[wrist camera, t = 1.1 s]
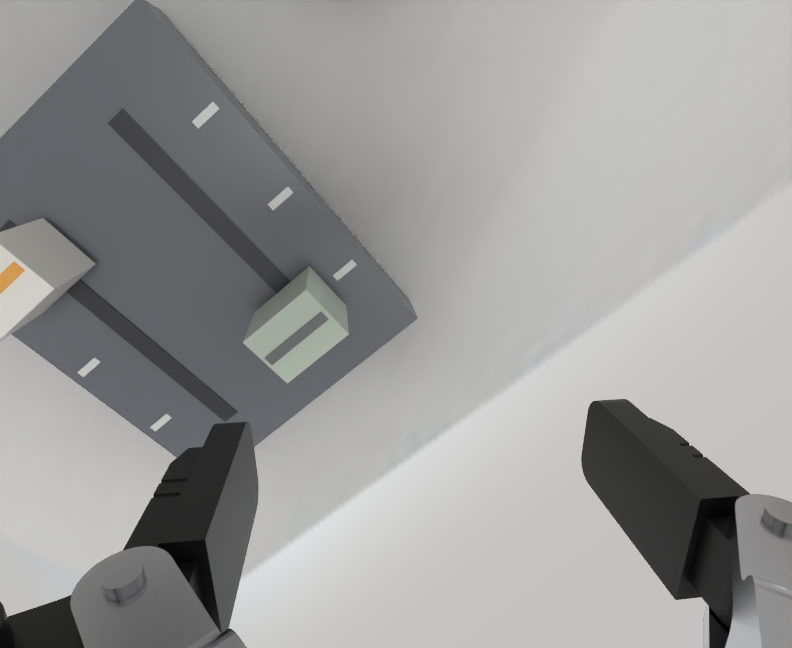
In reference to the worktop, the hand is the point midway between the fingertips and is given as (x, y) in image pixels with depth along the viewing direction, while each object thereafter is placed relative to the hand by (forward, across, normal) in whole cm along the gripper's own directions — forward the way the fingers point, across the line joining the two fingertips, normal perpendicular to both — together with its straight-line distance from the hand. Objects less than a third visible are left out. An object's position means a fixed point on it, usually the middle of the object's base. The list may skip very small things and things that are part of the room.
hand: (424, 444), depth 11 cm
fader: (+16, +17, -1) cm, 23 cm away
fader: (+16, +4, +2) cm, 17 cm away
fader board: (+20, +10, 0) cm, 22 cm away
